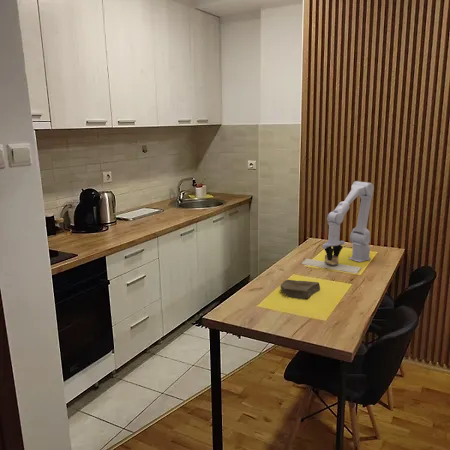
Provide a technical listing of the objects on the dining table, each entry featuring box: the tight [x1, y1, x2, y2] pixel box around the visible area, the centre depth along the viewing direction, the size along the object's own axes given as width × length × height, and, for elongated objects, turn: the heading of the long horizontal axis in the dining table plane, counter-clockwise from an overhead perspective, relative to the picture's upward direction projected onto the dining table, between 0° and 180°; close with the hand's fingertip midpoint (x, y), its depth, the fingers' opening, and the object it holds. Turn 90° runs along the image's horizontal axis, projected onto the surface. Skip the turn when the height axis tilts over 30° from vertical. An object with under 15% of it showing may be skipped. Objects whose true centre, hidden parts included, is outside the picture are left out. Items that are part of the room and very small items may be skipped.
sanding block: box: [324, 254, 339, 266], centre depth 227 cm, size 4×6×4 cm, turn 32°
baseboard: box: [301, 257, 362, 275], centre depth 227 cm, size 30×3×10 cm
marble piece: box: [279, 279, 321, 300], centre depth 192 cm, size 17×15×4 cm
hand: (332, 259), depth 226 cm, fingers closed on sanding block, 4 cm apart
